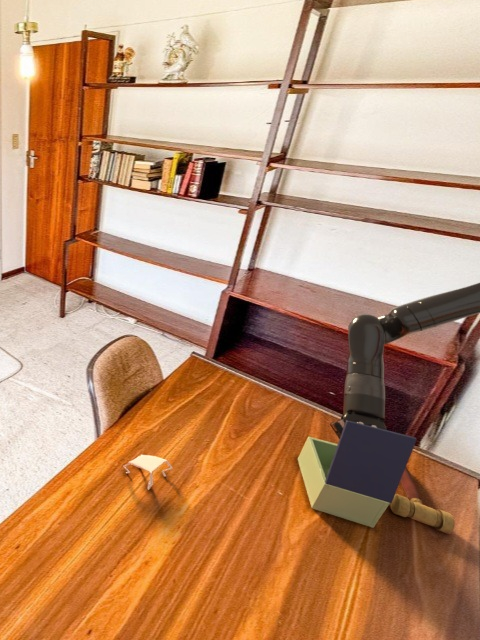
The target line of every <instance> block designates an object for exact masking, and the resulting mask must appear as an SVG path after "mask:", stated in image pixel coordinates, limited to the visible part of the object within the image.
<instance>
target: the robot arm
mask: <svg viewBox="0 0 480 640" xmlns="http://www.w3.org/2000/svg"><path fill="white" fill-rule="evenodd" d="M477 314H480V282H477V283H474V284H471V285H468V286H464V287H461V288H456V289H453V290H449V291H444V292H441V293H437V294H433V295H430V296H427V297H423V298H420V299H416V300H413V301H410V302H407V303H404V304H400V305H398V306H396V307H393V308H391V310H389V311H388V312H387V313H386V314H384V315H381V316H378V317H377V316H376V315H373V314H367V313H363V314H359V315H356V316H354V317H353V318H352V319H351V320H350V321H349V322H348V330H347V334H348V335H347V341H348V355H347V362H346V376H345V381H344V389H343V390H344V393H343V407H342V408H343V410H342V411H343V413H342V415H341V417H340V419H339V420H337V421H332V422H330V423H329V426H330V427H331V429H332V431H333V432H334V434H335V435H336V436H337V438H338V439H339V440H340V437H341V434H342V431H343V428H344V425H345V422H346V420H348V421H352V422H356V423H360V424H364V425H368V426H372V427H376V428H380V429H384V430H387V426H386V424H385V418H386V416H385V414H386V398H387V397H386V385H385V363H384V361H385V360H384V352H385V351H384V350H385V345H387V344H391V343H393V342H395V341H397V340H399V339H403V338H404V337H406V336H408V335H411V334H412V335H413V334H416V333H420V332H423V331H426V330H430V329H433V328H437V327H440V326H443V325H446V324H449V323H452V322H456V321H458V320H462V319H465V318H468V317H471V316H474V315H477Z"/></svg>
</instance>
